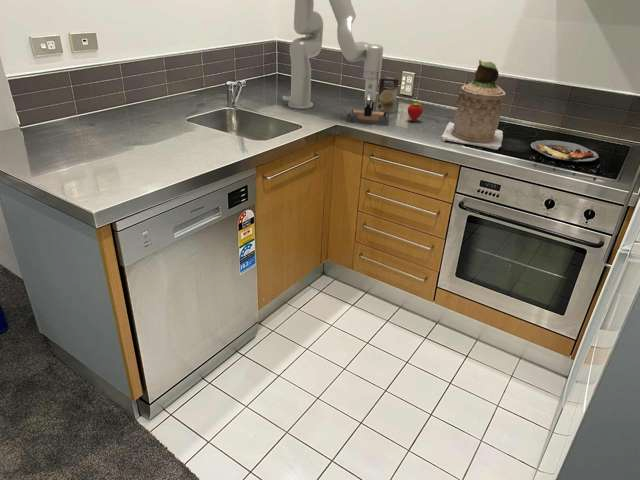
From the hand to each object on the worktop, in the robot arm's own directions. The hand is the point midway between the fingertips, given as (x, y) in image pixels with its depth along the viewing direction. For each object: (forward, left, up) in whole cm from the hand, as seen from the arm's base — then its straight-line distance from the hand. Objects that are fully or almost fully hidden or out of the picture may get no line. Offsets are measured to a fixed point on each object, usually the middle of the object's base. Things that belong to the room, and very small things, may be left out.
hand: (368, 113), depth 223 cm
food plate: (+81, -22, -4) cm, 84 cm away
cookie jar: (+46, -11, -4) cm, 48 cm away
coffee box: (+7, +20, -4) cm, 22 cm away
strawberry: (+21, +6, -4) cm, 22 cm away
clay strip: (0, 0, -2) cm, 3 cm away
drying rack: (0, 0, -4) cm, 4 cm away
